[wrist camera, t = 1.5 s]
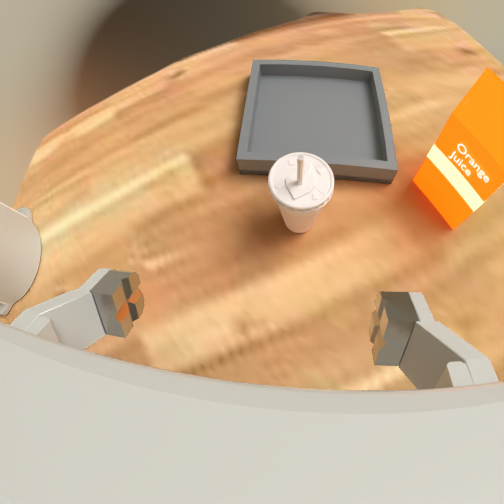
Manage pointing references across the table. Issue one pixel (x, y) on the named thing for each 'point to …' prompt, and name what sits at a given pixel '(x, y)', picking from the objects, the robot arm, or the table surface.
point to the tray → (318, 119)
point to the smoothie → (300, 188)
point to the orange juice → (467, 153)
